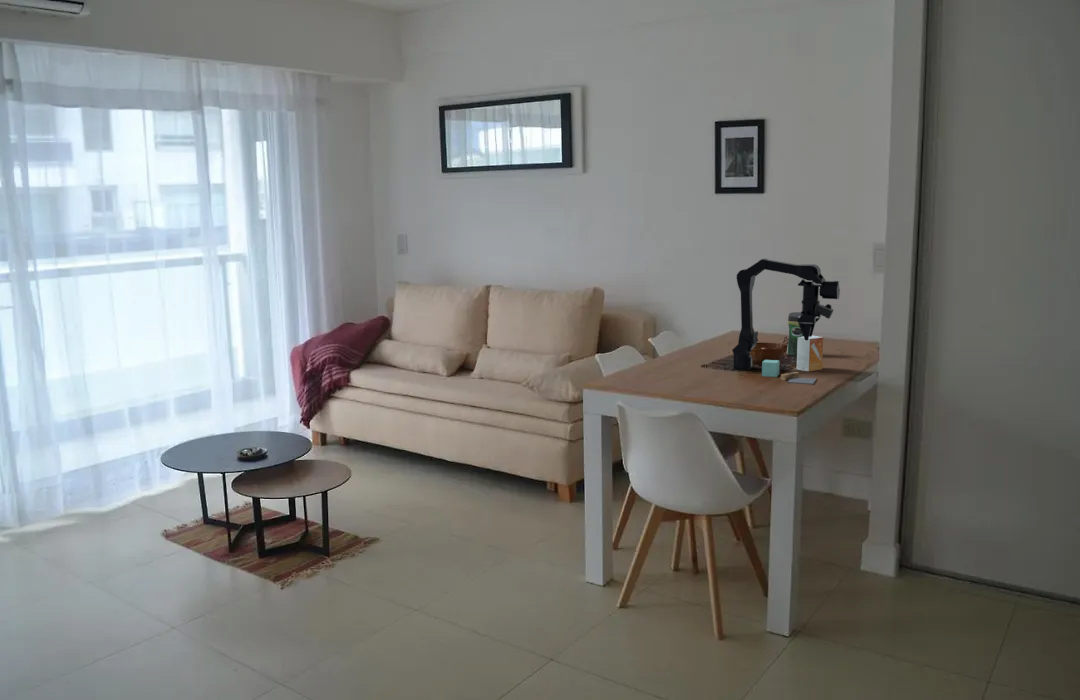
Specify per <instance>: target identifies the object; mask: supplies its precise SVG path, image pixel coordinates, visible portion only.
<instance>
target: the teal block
mask: <svg viewBox="0 0 1080 700" xmlns="http://www.w3.org/2000/svg"><path fill="white" fill-rule="evenodd" d="M780 363H781V362H780V360H777V359H774V360H773V359H764V360H763V361H762V363H761V377H768V378H769V377H772V378H777V377H779V375H780Z"/></svg>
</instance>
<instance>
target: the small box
mask: <svg viewBox="0 0 1080 700" xmlns="http://www.w3.org/2000/svg"><path fill="white" fill-rule="evenodd" d="M823 353H824V336H817V335H813V334H812V336H811V337H809V339H808V340H805V338H804V336H803V337H798V342H797V356H796V370H798V371H804V372H813V371H819V370H820V371H821V370H822V369H823V357H824V356H823Z"/></svg>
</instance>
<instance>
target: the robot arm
mask: <svg viewBox="0 0 1080 700" xmlns="http://www.w3.org/2000/svg"><path fill="white" fill-rule="evenodd" d="M765 270H766V271H772V272H776V273H777V272H778V273H783V274H788V275H794V276H796V277H798V278H800V279H801V281H800V282H799V283H797V286H799V287H802V300H801V305H802V306H801V311H800V312H801V315H800V316H799V317H798V321H797V322H798V324H799V326H800V328H801V331H802V333H803V336H804V338H805V340H808V339H809V337H811V336H812V335H813V334H814V331H815V326H816V323H817V322H818V321H819V320H820V319H821V317H822V316H823V317H825V318H826V319H828V320H829V319H830V318H831V317H832V315H833V313H834V311H835V310H834V308H832V304H829V303H827V304H826V305H824V304H820V300H819V296H820V297H821V298H822V299H823V300H824V299H827V300H839V299H840V296H841V295H840V294H841V288H840V281H839V280H834V281H833V280H832V281H831V280H826V278H825V277H824V276H823V275H822V273H821V272H822V270H821V267H820V266H819V265H817V264H816V263H815V264H812V263H811V264H810V263H807V264H805V263H804V264H796V263H790V262H785V261H777V260H772V259H768V258H761V259H759V260H758V261H757V262H755V263H754V264H752V265H751V266H749V267H747V268H744V269H741V270H739V271H738V272H737V273H736V283H737V286H738V289H739V292H740V320H741V324H740V325H741V326H740V327H741V328H740V332H739V336H738V341H737V345H736V346H735V347H733V348H732V349H731V350H732V353H733V365H732V366H733V367H732V368H731V369H732V370H738V371H739V370H741V371H749V370H750V369H752V368H751V367H753V357H752V353H751V352H752V350H753V348H755V347H756V346H757V345H758V344H757V343H758V342H759V339H758V335H759V331H758V330H757V331H755V329H754V327H753V326H754V325H753V324H754V323H753V290H754V286H755V281H756V277H757V276H758V275H760V274H761V273H762V272H763V271H765Z"/></svg>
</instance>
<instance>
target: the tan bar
mask: <svg viewBox="0 0 1080 700" xmlns="http://www.w3.org/2000/svg"><path fill="white" fill-rule="evenodd" d="M795 377H799V378H800V372H799V371H793V372H792V371H791V372H788V373H782V374H780V380H781V381H785V382H786V381H789V380H790V379H791V378H795Z"/></svg>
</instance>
